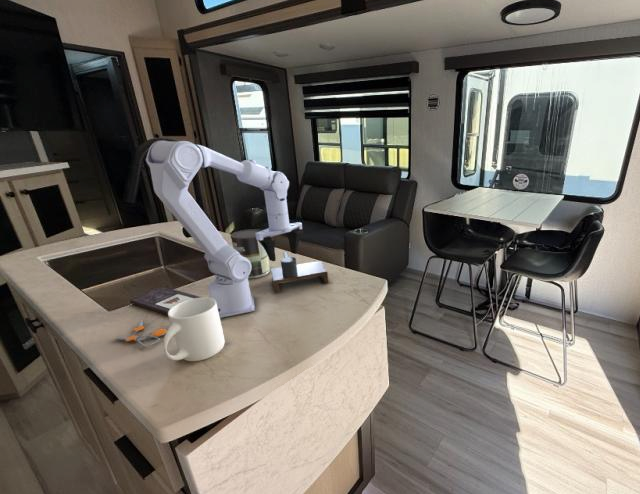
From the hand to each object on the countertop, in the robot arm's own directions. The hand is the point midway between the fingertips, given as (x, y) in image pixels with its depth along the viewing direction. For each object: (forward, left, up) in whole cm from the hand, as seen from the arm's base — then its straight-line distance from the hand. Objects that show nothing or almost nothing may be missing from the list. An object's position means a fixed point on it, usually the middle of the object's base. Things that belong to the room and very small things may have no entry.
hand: (283, 256), depth 97 cm
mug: (-22, -28, -10) cm, 37 cm away
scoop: (+1, 0, -5) cm, 6 cm away
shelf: (+4, 0, -9) cm, 10 cm away
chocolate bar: (-32, +2, -9) cm, 33 cm away
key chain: (-34, -14, -9) cm, 38 cm away
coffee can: (-9, +14, -10) cm, 19 cm away
